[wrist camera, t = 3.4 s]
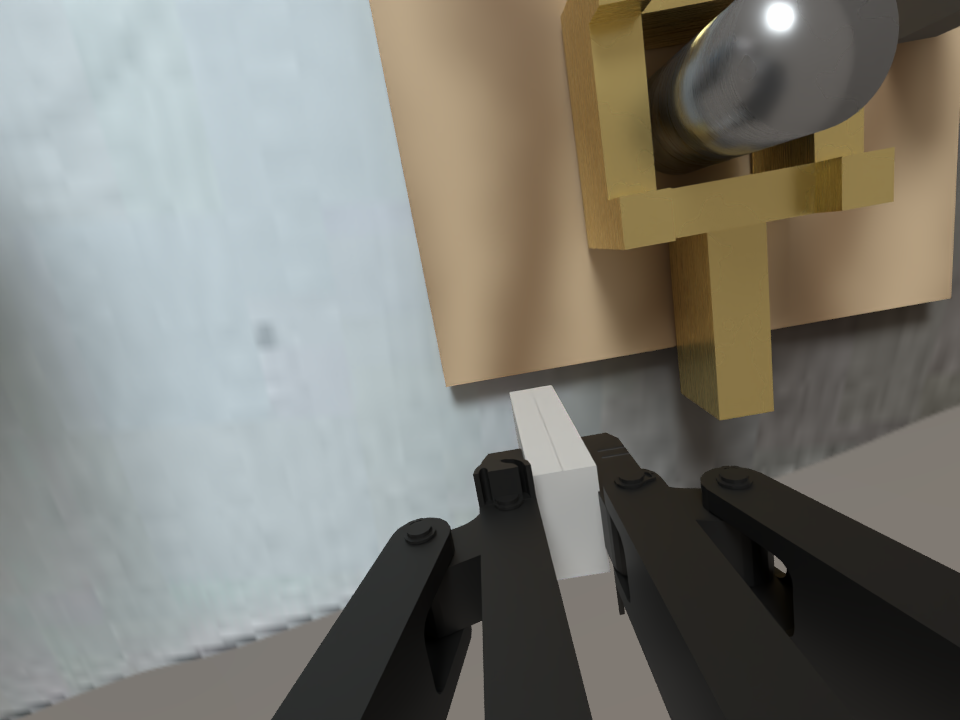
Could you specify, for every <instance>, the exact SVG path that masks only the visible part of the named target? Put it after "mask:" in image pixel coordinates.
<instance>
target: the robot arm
mask: <svg viewBox="0 0 960 720" xmlns="http://www.w3.org/2000/svg"><path fill="white" fill-rule="evenodd" d="M509 393H510V398H511V404H512V410H513V416H514V422H515V428H516V434H517V440H518V446H519V449H515V450H509V451H503V452H497V453H491V454H488V455H487V456H486V458H485V459H484V460H483V461H482V464H481V465H480V466H478V467H477V468H476V469H475V471H474V474H473V476H474V481H475V486H476V492H477V497H478V502H479V507H480V514H479V515H478V516H477V517H476V518H475V519H474V520H472V521H470V522H469V523H467V524H465V525H463V526H461V527H458V528H455V529H452V530H451V528H450V526H449V524H448V523H447V522H446V521H444V520H442V519H440V518H420V519H416V520H415V521H414V520H413V521H411V522H409V523H407V524H406V525H404V526H402V527H401V528H399V529H398V530H397V531H396V532H395V533H394V534H393V535H392V537H391V538H390V540H389V541H388V543H387V544H386V546H385V547H384V549H383V550H382V552H381V553H380V555H379V556H378V558H377V559H376V561H375V563H374V564H373V566H372V567H371V569H370V570H369V572H368V573H367V575H366V576H365V578H364V579H363V581H362V582H361V584H360V585H359V587H358V588H357V590H356V591H355V593H354V594H353V596H352V598H351V599H350V601H349V602H348V604H347V605H346V607H345V608H344V610H343V611H342V613H341V614H340V616H339V617H338V619H337V620H336V622H335V623H334V625H333V626H332V628H331V629H330V631H329V633H328V634H327V636H326V637H325V639H324V640H323V642H322V643H321V645H320V646H319V648H318V649H317V651H316V653H315V654H314V655H313V657H312V658H311V660H310V662H309V663H308V664H307V666H306V668H305V669H304V671H303V672H302V674H301V675H300V677H299V678H298V680H297V681H296V683H295V684H294V686H293V687H292V689H291V690H290V692H289V693H288V695H287V697H286V698H285V700H284V701H283V703H282V704H281V706H280V707H279V709H278V710H277V712H276V713H275V715H274V716H273V718H272V719H271V720H446V718H447V715H448V712H449V709H450V705H451V702H452V699H453V696H454V692H455V689H456V685H457V682H458V679H459V676H460V673H461V669H462V666H463V663H464V659H465V656H466V653H467V650H468V646H469V643H470V640H471V632H472V631H471V630H472V629H471V625H473V624H475V623H478V622H480V621H482V625H483V666H484V667H483V668H484V705H485V706H484V708H485V720H592V716H591V712H590V708H589V705H588V701H587V696H586V693H585V689H584V685H583V681H582V677H581V673H580V669H579V665H578V661H577V657H576V653H575V649H574V645H573V642H572V637H571V634H570V629H569V625H568V621H567V618H566V613H565V609H564V606H563V601H562V597H561V593H560V589H559V585H558V582H557V580H563V579H569V578H575V577H581V576H588V575H594V574H600V573H606V572H610V565H609V558H608V554H609V557H610V559H611V561H612V563H613V567H614V575H615V582H616V590H617V598H618V605H619V612H620V615H622V614H625V611H624V606H625V609H626V611H627V614H628V616H629V619H630V621H631V623H632V625H633V628H634V630H635V633H636V635H637V638H638V640H639V643H640V645H641V647H642V650H643V652H644V655H645V657H646V660H647V662H648V665H649V667H650V669H651V672H652V674H653V677H654V679H655V682H656V684H657V686H658V689H659V691H660V694H661V696H662V699H663V701H664V703H665V706H666V708H667V711H668V713H669V715H670V718H671V720H960V573H958V572H957V571H955V570H953V569H951V568H949V567H947V566H945V565H943V564H940V563H939V562H936V561H935V560H932V559H931V558H929V557H927V556H925V555H923V554H921V553H919V552H917V551H915V550H913V549H911V548H909V547H907V546H905V545H903V544H901V543H899V542H897V541H895V540H893V539H891V538H889V537H887V536H885V535H883V534H881V533H879V532H877V531H875V530H873V529H871V528H869V527H867V526H865V525H863V524H861V523H859V522H857V521H855V520H853V519H851V518H849V517H847V516H845V515H843V514H841V513H839V512H837V511H835V510H833V509H831V508H829V507H827V506H825V505H823V504H821V503H819V502H818V501H816V500H814V499H812V498H809V497H807V496H806V495H804V494H801V493H800V492H798V491H796V490H794V489H792V488H790V487H788V486H786V485H784V484H782V483H780V482H778V481H776V480H774V479H772V478H770V477H768V476H766V475H764V474H762V473H760V472H757V471H754V470H751V469H747V468H741V467H738V466H731V467H729V466H723V467H721V468H715V469H712V470H709V471H707V472H705V473H704V474H703V475H702V477H701V488H672V487H668V485H667V484H666V483H665V482H664V480H663V479H662V478H661V477H660V476H659V475H658V474H656V473H655V472H653V471H650V470H647V469H641V468H640V467H639V465H638V464H637V463H636V461H635V460H634V459H633V457H632V456H631V455H630V454H629V452H628V451H627V449H626V448H625V447H624V445H623V444H622V443H621V441H620V440H619V439H618V438H617V437H614V436H612V435H610V434H608V433H602V434H596V435H590V436H584V437H580V435H579V433H578V432H577V430H576V428H575V426H574V424H573V423H572V421H571V419H570V417H569V415H568V414H567V412H566V410H565V408H564V406H563V405H562V403H561V401H560V399H559V397H558V396H557V394H556V392H555V390H554V388H553V387H552V385H549V386H543V387H537V388H531V389H526V390H520V391H514V392H509ZM774 555H775V556H776V557H777V558H778V559H780V560H781V561H782V562H783V564H784V565H785V566H786V568H787V572H786V574H785V573H783V572H782V571H780V570H779V569H777V568H776V567H775V566H774Z"/></svg>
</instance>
